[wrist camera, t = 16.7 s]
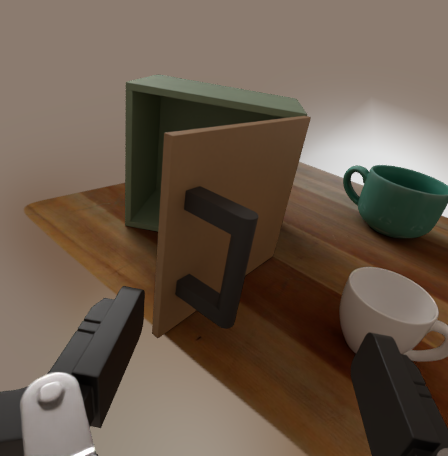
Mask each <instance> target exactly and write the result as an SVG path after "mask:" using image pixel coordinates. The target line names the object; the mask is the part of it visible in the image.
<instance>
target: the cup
mask: <svg viewBox="0 0 448 456" xmlns="http://www.w3.org/2000/svg"><path fill="white" fill-rule="evenodd" d="M438 314H439V311H438V307H437V305H436V303H435V301H434V300H433V298H432V297H431V296H430V295H429V294H428V293H427V292H426V291H425V290H424V289H423V288H422V287H420V286H419V285H418V284H416V283H415V282H413V281H411V280H410V279H408V278H406V277H404V276H402V275H400V274H397V273H395V272H392V271H389V270H385V269H381V268H375V267H362V268H358V269H355V270H354V271H352V272H351V274H350V275H349V278H348V280H347V282H346V285H345V287H344V290H343V293H342V296H341V300H340V308H339V316H340V325H341V329H342V332H343V335H344V338H345V340H346V343H347V344H348V346H349V347H350V348H351V349H352V350H353V351H354V352H355V353H357V351H358V349H359V347H360V345H361V343H362V341H363V339H364V337H365V336H366V334H367V333H369V332H371V333H376V334H381V335H386V336H391V337H392V338H393V339H394V340H395V342H396V344H397V347H398V349H399V351H400V353H401V354H404V355H407V356H408V357H409V359H410V360H412V361H436V360H441V359H443V358H446V357H447V356H448V325H447V324H445V323H443V322H441V321H439V320H437V318H438ZM430 331H436V332H438V333H441V334H442V335H444V336H445V340H444V342H443V344H442V345H441V346H439V347H437V348H434V349H429V350H421V351H415V350H411V349H412V348H414V347H415V346H416V345H417V344H418V343H419V342H420V341H421V340H422V339H423V338H424V337H425V336H426V335H427V334H428V333H429V332H430Z"/></svg>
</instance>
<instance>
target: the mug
mask: <svg viewBox="0 0 448 456" xmlns="http://www.w3.org/2000/svg"><path fill="white" fill-rule="evenodd" d="M354 172H358V173H360V174H361V175H362V177H363V183H364V187H363V189H362V192H361V195H360V197H359V196H358V195H357V194H356V192H355V191H354V189H353V187H352V185H351V175H352V174H353V173H354ZM343 184H344V188H345V191H346V193H347V195H348V196H349V198H350V199H351V200H352V201H353V202H354V203H355V204H356V205H357V206H358V209H359V213H360V215H361V217H362V218H363V219H364V220H365V222H367V223H368V224H369V226H370V227H371V228H373V229H374V230H375V231H377V232H379V233H381V234H384V235H386V236H390V237H394V238H416V237H420V236H423V235H425V234H427V233H428V232H429V231H431V230H432V228H433V227H434V226H435V225H436V223H437V221H438V220H439V218H440V217H441V215H442V213H443V211H444V209H445V208H446V206H447V204H448V186H447V185H446V184H444V183H443V182H441V181H439V180H437V179H435V178H432V177H430V176H427V175H425V174H422V173H419V172H416V171H413V170H409V169H405V168H401V167H395V166H387V165H377V166H373V167H372V168H371V169H370V172H369V171H368V170H367V169H366V168H364V167H362V166H353V167H351V168H349V169H348V170H347V171H346V173H345V175H344V179H343Z"/></svg>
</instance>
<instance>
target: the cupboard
mask: <svg viewBox="0 0 448 456" xmlns="http://www.w3.org/2000/svg"><path fill="white" fill-rule="evenodd" d="M298 116H307V113H306V112H305V111H304V109H303V107H302V106H301V105H300V103H299V102H298V100H297V99H294V98H289V97H283V96H278V95H272V94H266V93H261V92H255V91H249V90H243V89H238V88H232V87H226V86H221V85H214V84H209V83H203V82H198V81H192V80H186V79H181V78H175V77H169V76H163V75H154V76H150V77H146V78H141V79H137V80H133V81H129V82H126V170H125V171H126V174H125V176H126V179H125V220H126V221H125V226H130V227H136V228H141V229H147V230H152V231H158V230H159V213H160V197H161V181H162V164H163V148H164V133H167V132H175V131H183V130H191V129H200V128H208V127H216V126H224V125H232V124H241V123H249V122H257V121H265V120H273V119H282V118H290V117H298Z"/></svg>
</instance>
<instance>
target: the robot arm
mask: <svg viewBox="0 0 448 456" xmlns="http://www.w3.org/2000/svg"><path fill="white" fill-rule="evenodd" d="M144 298H145V292H144V290H141V289H136V288H131V287H126V286H123V287H122V288H121V289H120V291H119V293H118V294H117V296H116V298H115V299H114V300H113V299H108V298H104V299H103V300H101V301H100V302H98V303H97V304H96V305H94V306H93V307H92V308H91V309H90V311H89V313H88V314H87V315H86V317H85V319H84V321H82V323H81V324H80V326H79V327H78V330H77V331H76V332H75V334H74V335H73V337H72V338H71V340H70V341H69V343H68V344H67V346H66V347H65V349H64V350H63V352H62V353H61V355H60V356H59V358H58V359H57V361H56V362H55V364H54V365H53V367H52V368H51V370H50V371H49V372H48V373H47V374H46V375H44V376H42V377H40V378H38V379H37V380H35V381H34V382H32V383H31V384H30V385H29V386H28V387H25V388H22V389H18V390H13V391H3V392H0V456H98V454H96V451H95V448H94V444H93V440H92V436H91V432H90V426H93V427H98V428H101V426H102V424H103V421H104V419H105V417H106V415H107V412H108V410H109V408H110V405H111V403H112V401H113V398H114V396H115V394H116V391H117V389H118V387H119V384H120V382H121V380H122V377H123V375H124V373H125V370H126V368H127V366H128V363H129V361H130V359H131V356H132V354H133V352H134V349H135V347H136V345H137V342H138V340H139V337H140V335H141V331H142V327H143V320H144ZM351 379H352V383H353V387H354V390H355V394H356V398H357V401H358V405H359V409H360V413H361V416H362V420H363V424H364V428H365V431H366V435H367V439H368V443H369V446H370V450H371V454H372V456H448V429H447V427H446V425H445V422H444V420H443V418H442V416H441V414H440V412H439V410H438V408H437V406H436V404H435V402H434V400H433V399H432V398H431V397H432V396H431V394H430V392H429V389H428V387H426V386H425V384H426V383H425V381H424V379H423V377H422V375H421V373H420V371H419V369H418V368H417V367H416V365H415V364H414V363H413V362H412V361H411V360H410V359H409V357H408V356H407V355H404V354H401V353H400V351H399V349H398V347H397V344H396V342H395V340H394V339H393V338H392V337H391V336H386V335H381V334H376V333H371V332H369V333H367V334H366V336H365V337H364V339H363V341H362V343H361V345H360V347H359V349H358V351H357V353H356V355H355V357H354V359H353V361H352V364H351Z"/></svg>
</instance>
